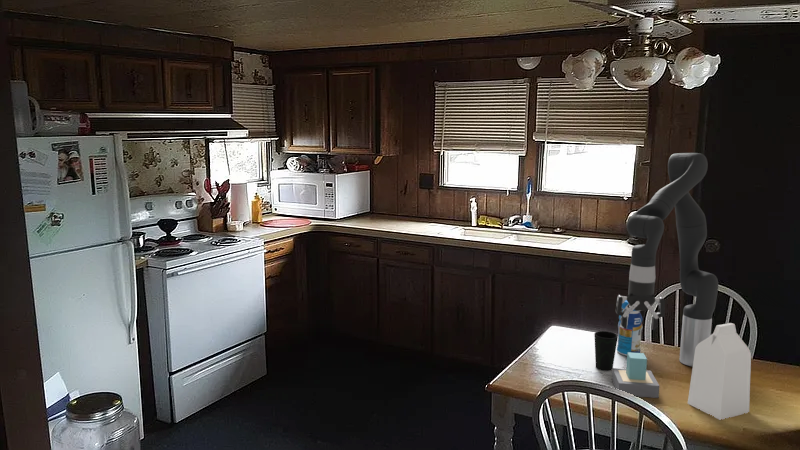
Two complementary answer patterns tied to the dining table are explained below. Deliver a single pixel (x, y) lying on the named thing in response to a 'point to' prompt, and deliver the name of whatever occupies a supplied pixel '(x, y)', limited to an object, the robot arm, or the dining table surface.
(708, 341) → the milk
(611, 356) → the cup
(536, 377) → the dining table surface
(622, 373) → the plinth
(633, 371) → the teal block
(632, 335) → the beverage bottle
